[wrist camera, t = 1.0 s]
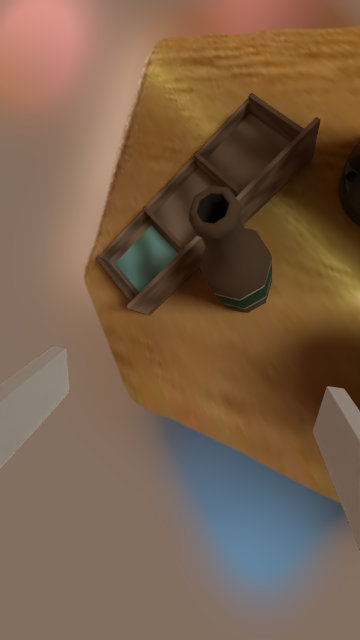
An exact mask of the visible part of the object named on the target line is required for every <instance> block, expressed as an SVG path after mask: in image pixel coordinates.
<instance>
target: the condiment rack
mask: <svg viewBox="0 0 360 640" xmlns="http://www.w3.org/2000/svg"><path fill="white" fill-rule="evenodd" d="M248 97H249V98H248V99H247V100H246V101H245V102H244V103H243V104H242V105H241V106H240V107H239V108H238V109H237V110H236V111H235V112H234V114H233V115H232V116H231V117H230V118H229V119H228V120H227V121H226V122H225V123H224V124H223V125H222V126H221V127H220V128H219V129H218V130H217V132H216V133H215V134H214V135H213V136H212V137H211V138H210V139H209V140H208V141H207V142H206V143H205V144H204V145H203V146H202V147H201V148H200V150H199V151H198V152H195V153H194V154H193V155H194V156H193V157H192V158H191V159H190V160H189V161H188V162H187V163H186V164H185V165H184V166H183V168H182V169H181V170H180V171H179V172H178V173H177V174H176V175H175V176H174V177H173V178H172V179H171V180H170V181H169V182H168V183H167V184H166V186H165V187H164V188H163V189H162V190H161V191H160V192H159V193H158V194H157V195H156V196H155V197H154V198H153V199H152V200H151V201H150V202H149V204H148V205H147V206H144V207H143V210H142V211H141V212H140V213H139V214H138V215H137V216H136V217H135V218H134V219H133V221H132V222H131V223H130V224H129V225H128V226H127V227H126V228H125V229H124V230H123V231H122V232H121V233H120V234H119V235H118V236H117V237H116V239H115V240H114V241H113V242H112V243H111V244H110V245H109V246H108V247H107V248H106V249H105V250H104V251H103V252H102V253H101V254H100V255H99V256H97V257H96V259H97V260H98V262H99V263H100V264H101V265H102V267H103V268H104V269H105V270H106V272H107V273H108V274H109V275H110V277H111V278H112V279H113V280H114V282H115V283H116V284H117V285H118V287H119V288H120V289H121V290H122V292H123V293H124V294H125V295H126V297H127V298H128V299H129V300H130V303H129V304H128V305H127V307H128V308H129V309H131V310H134V311H137V312H141V313H144V314H147V315H151V314H152V313H153V312H154V311H155V310H156V309H157V308H158V307H159V306H160V305H161V304H162V303H163V302H164V301H165V300H166V299H167V298H168V297H169V296H170V295H171V294H172V293H173V292H174V291H176V290H177V289H178V288H179V287H180V286H181V285H182V284H183V283H184V282H185V281H186V280H187V279H188V278H189V277H190V276H191V275H192V274H193V273H194V272H195V271H196V270H197V269H198V268H199V266H200V262H201V258H202V255H203V252H204V248H205V245H204V242H203V240H202V238H201V237H198V236H197V234H196V232H195V231H194V229H193V227H192V225H191V224H190V222H189V211H190V208H191V205H192V201H193V198H194V196H196V195H197V194H199V193H200V192H202V191H203V190H204V189H206V188H207V187H209V186H217V187H227V188H229V189H230V190H231V191H232V193H233V194H234V196H235V197H236V199H237V200H238V202H239V203H240V205H241V207H242V210H241V214H240V218H241V221H242V224H243V225H244V224H245V223H246V222H247V221H248V220H249V219H250V218H251V217H252V216H253V215H254V214H255V213H256V212H257V211H258V210H259V209H260V208H261V207H262V206H263V205H264V204H265V203H266V202H268V201H269V200H270V199H271V198H272V197H273V196H274V195H275V194H276V193H277V192H278V191H279V190H280V189H281V188H282V187H283V186H284V185H285V184H286V183H287V182H288V181H289V180H290V179H291V178H292V177H293V176H294V175H295V174H296V173H297V172H299V171H300V170H301V169H302V168H303V167H304V166H305V165H306V164H307V163H308V162H309V161H310V160H311V159H312V158H313V153H314V148H315V143H316V139H317V134H318V129H319V124H320V119H319V118H318V117H316V118H315V119H314V120H313V121H312V122H311V123H310V124H309V125H308V126H307V127H306V128H305V129H303V128H302V127H300V126H299V125H298V124H296V123H295V122H293V121H292V120H290V119H289V118H287V117H286V116H284V115H283V114H282V113H280V112H279V111H277V110H276V109H274V108H273V107H271V106H270V105H268V104H267V103H266V102H264V101H263V100H261V99H260V98H258V97H257V96H255V95H254V94H253V93H251V94H250V95H249V96H248Z"/></svg>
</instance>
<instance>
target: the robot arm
mask: <svg viewBox="0 0 360 640" xmlns="http://www.w3.org/2000/svg"><path fill="white" fill-rule="evenodd" d="M339 195H340V200H341V203H342V206H343V208H344V210H345V211H346V213H347V214H348V216H349V217H350V218H351V219H352V220H353V221H354V222H355V223H357V224H358V225H359V226H360V142H359V143H358V145H357V146H356V147H355V148H354V150H353V151H352V153H351V154H350V156H349V158H348V159H347V162H346V164H345V167H344V169H343V172H342V174H341V178H340V182H339ZM69 392H70V387H69V375H68V363H67V352H66V348H63V347H55V346H52V347H51V348H50V349H48V350H47V351H45V352H44V353H43V354H41V355H40V356H39V357H37V358H36V359H34V360H33V361H32V362H30V363H29V364H28V365H26V366H25V367H24V368H22V369H21V370H20V371H18V372H17V373H15V374H14V375H13V376H11V377H10V378H9V379H7V380H6V381H5V382H3V383H2V384H1V385H0V468H1V467H2V466H3V465H4V464H5V463H6V462H7V461H8V460H9V459H10V458H11V456H12V455H13V454H14V453H15V452H16V451H17V450H18V449H19V448H20V446H21V445H22V444H23V443H24V442H25V441H26V440H27V439H28V437H29V436H30V435H31V434H32V433H33V432H34V431H35V430H36V429H37V427H38V426H39V425H40V424H41V423H42V422H43V421H44V420H45V419H46V418H47V416H48V415H49V414H50V413H51V412H52V411H53V410H54V408H56V406H57V405H58V404H59V403H60V402H61V401H62V400H63V399H64V398H65V397H66V395H67V394H68V393H69ZM313 435H314V437H315V440H316V442H317V445H318V447H319V450H320V452H321V455H322V457H323V459H324V462H325V464H326V467H327V469H328V472H329V474H330V477H331V479H332V482H333V484H334V487H335V489H336V492H337V494H338V497H339V499H340V502H341V504H342V507H343V509H344V512H345V514H346V517H347V519H348V522H349V524H350V527H351V529H352V531H353V534H354V537H355V539H356V542H357V544H358V547H359V549H360V411H359V409H358V408H357V407H356V405H355V404H354V402H353V401H352V399H351V398H350V396H349V395H348V393H347V392H346V391H345V389H343V388H337V387H330V386H327V388H326V391H325V394H324V397H323V400H322V403H321V407H320V410H319V413H318V416H317V419H316V422H315V426H314V429H313Z"/></svg>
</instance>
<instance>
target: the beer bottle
mask: <svg viewBox="0 0 360 640" xmlns="http://www.w3.org/2000/svg"><path fill="white" fill-rule="evenodd" d="M241 210H242V207H241V205H240V203H239V202H238V200H237V199H236V197H235V196H234V194H233V193H232V191H231V190H230V189H229V188H227V187H217V186H209V187H207V188H206V189H204V190H203V191H202V192H200V193H199V194H197V195H196V196H194V198H193V201H192V205H191V208H190V211H189V222H190V224H191V225H192V227H193V229H194V231H195V232H196V234H197V236H198V237H201V238H202V240H203V242H204V245H205V248H204V252H203V255H202V258H201V262H200V266H199V268H200V270H201V272H202V273H203V275H204V277H205V279H206V280H207V282H208V284H209V286H210V288H211V289H212V291H213V293H214V294H215V295H216V296H217V297H218V299H219V300H220V301H221V302H222V303H223V304H224V305H225V306H226V307H228V308H231V309H235V310H239V311H243V312H246V313H248V312H250V311H251V310H253V309H255V308H257V307H259V306H261V305H262V304H264V303H266V299H267V296H268V292H269V289H270V286H271V282H272V257H271V254H270V252H269V250H268V249H267V247H266V246H265V244H264V243H263V241H262V240H261V238H260V237H259V235H258V234H257V232H256V231H254V230H252V229H245V228H244V226H243V224H242V221H241V218H240V214H241Z"/></svg>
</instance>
